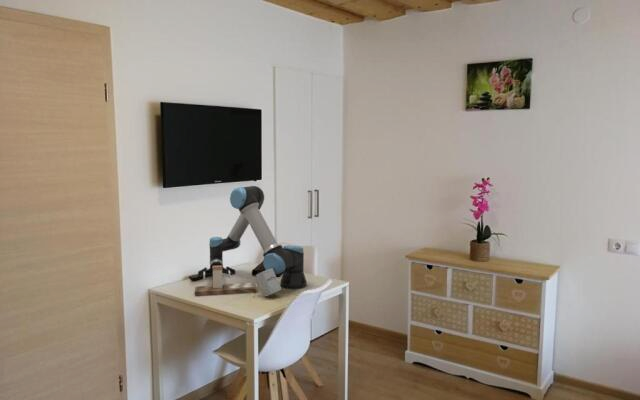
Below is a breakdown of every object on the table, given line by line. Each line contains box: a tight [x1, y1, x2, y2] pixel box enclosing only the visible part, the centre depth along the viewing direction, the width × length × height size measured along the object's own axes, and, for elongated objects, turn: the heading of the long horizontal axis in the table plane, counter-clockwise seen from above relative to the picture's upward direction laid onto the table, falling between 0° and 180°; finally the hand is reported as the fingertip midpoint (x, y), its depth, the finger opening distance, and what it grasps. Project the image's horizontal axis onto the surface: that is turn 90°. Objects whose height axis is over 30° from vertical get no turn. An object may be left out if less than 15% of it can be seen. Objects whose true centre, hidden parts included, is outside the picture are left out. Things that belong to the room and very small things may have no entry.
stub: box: [212, 265, 223, 288], centre depth 279 cm, size 5×2×12 cm, turn 102°
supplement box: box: [255, 268, 282, 298], centre depth 272 cm, size 7×7×13 cm
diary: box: [251, 260, 283, 278], centre depth 325 cm, size 19×25×5 cm
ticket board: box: [194, 282, 258, 297], centre depth 281 cm, size 33×10×3 cm, turn 102°
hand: (216, 276), depth 278 cm, fingers open, 13 cm apart
